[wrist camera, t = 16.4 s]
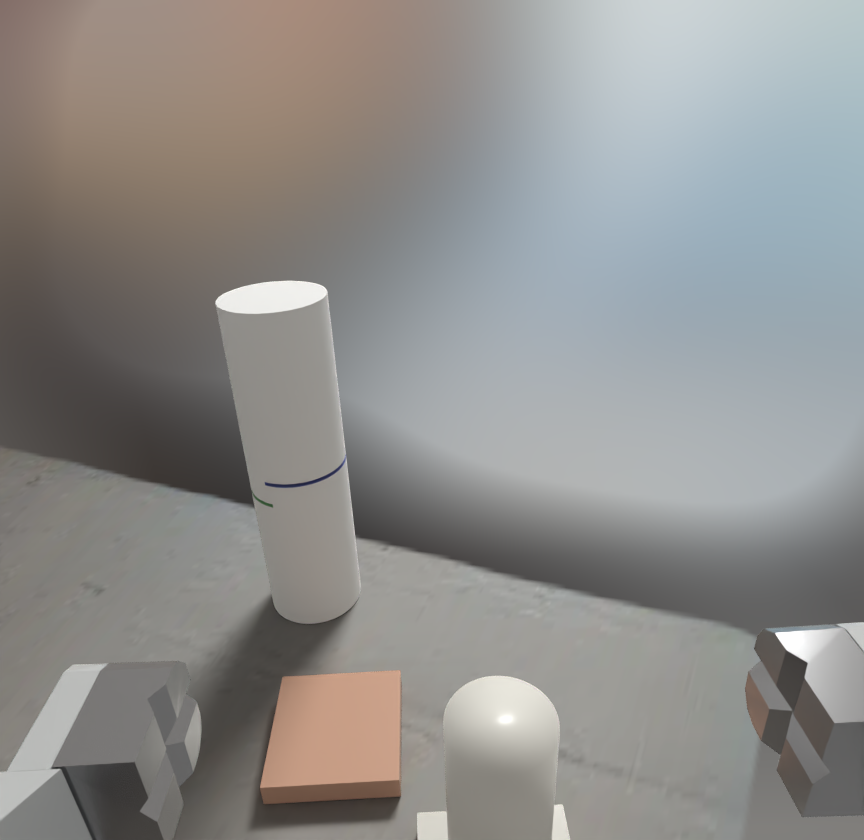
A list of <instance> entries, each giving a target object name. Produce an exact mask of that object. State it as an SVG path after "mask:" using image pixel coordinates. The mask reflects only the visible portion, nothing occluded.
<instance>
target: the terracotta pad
mask: <svg viewBox="0 0 864 840" xmlns="http://www.w3.org/2000/svg"><path fill="white" fill-rule="evenodd" d="M401 723H402V682H401V671H400V670H396V671H378V672H360V673H342V674H323V675H305V676H287V677H283V678H282V682H281V687H280V692H279V697H278V702H277V707H276V712H275V717H274V721H273V726H272V731H271V736H270V741H269V746H268V751H267V756H266V760H265V765H264V770H263V775H262V780H261V785H260V790H261V795H262V799H263V803H264V804H277V803H295V802H312V801H330V800H347V799H364V798H382V797H399V796H401Z"/></svg>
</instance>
